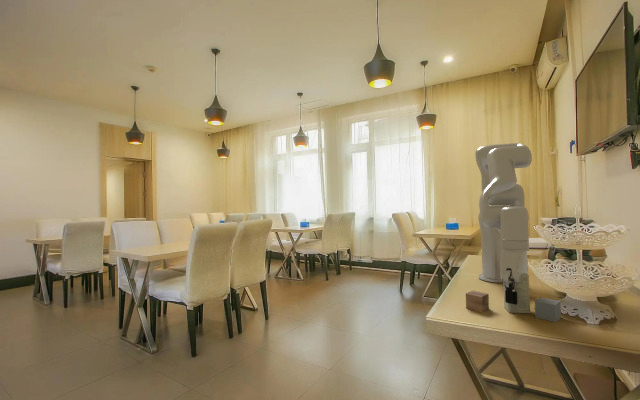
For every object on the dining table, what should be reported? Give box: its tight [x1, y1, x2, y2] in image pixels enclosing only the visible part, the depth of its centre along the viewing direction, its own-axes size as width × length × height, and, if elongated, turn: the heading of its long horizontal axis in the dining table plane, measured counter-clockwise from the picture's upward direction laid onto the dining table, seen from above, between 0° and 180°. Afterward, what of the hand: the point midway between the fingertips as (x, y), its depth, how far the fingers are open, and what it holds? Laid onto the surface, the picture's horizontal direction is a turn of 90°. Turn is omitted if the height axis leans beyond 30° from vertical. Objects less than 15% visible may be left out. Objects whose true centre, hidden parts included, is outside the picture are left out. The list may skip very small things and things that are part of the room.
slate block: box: [534, 296, 562, 323], centre depth 90 cm, size 5×5×5 cm
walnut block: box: [465, 290, 490, 313], centre depth 98 cm, size 5×5×5 cm
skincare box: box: [502, 273, 531, 314], centre depth 96 cm, size 6×4×12 cm
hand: (516, 300), depth 96 cm, fingers open, 7 cm apart
